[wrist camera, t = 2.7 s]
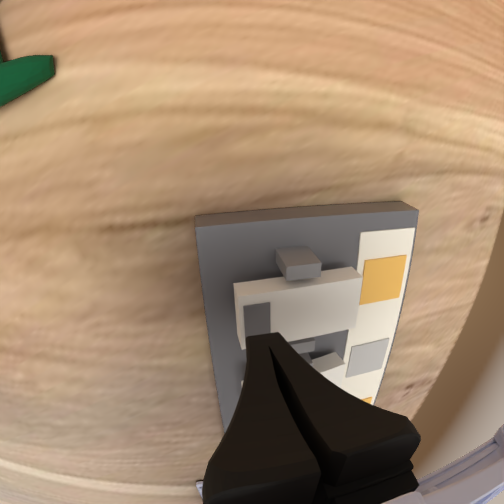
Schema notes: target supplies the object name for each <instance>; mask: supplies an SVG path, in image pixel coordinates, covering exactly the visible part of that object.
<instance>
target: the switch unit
mask: <svg viewBox="0 0 504 504" xmlns="http://www.w3.org/2000/svg"><path fill="white" fill-rule="evenodd" d="M418 214H419V210H418V209H416V208H414V207H412V206H410V205H408V204H406V203H404V202H402V201H395V202H373V203H353V204H336V205H319V206H304V207H290V208H277V209H264V210H252V211H241V212H229V213H218V214H208V215H198V216H195V231H196V241H197V250H198V259H199V267H200V276H201V284H202V292H203V300H204V307H205V315H206V322H207V329H208V336H209V343H210V349H211V356H212V362H213V369H214V375H215V381H216V387H217V393H218V399H219V405H220V411H221V416H222V422H223V427H224V433H225V432H226V430H227V428H228V426H229V424H230V422H231V419H232V417H233V414H234V412H235V409H236V406H237V403H238V400H239V397H240V393H241V390H242V384H241V381H242V380H244V376H245V370H246V362H247V359H246V349H243V350H242V349H241V346H240V342H239V339H238V335H237V324H236V311H235V297H234V284H233V283H239V282H247V281H255V280H262V279H269V278H276V277H284V278H285V280H286V281H292V280H300V279H308V278H316V277H321V271H325V270H332V269H338V268H345V267H351V266H352V267H353V268H354V269H355V270H356V271H357V272H358V273H359V274H360V275H361V276H362V277H363V281H362V288H361V295H360V302H359V309H358V315H357V321H356V327H355V328H352V329H347V330H343V331H338V332H334V333H329V334H325V335H320V336H315V337H310V338H305V339H300V340H295V341H289V342H288V343H289V344H290V345H291V346H292V347H293V348H294V349H295V351H296V352H297V353H298V354H299V355H300V356H301V357H302V358H304V359H305V360H306V361H307V362H308V363H309V364H310V365H311V366H312V367H313V362H312V360H313V359H316V358H319V357H322V356H325V355H328V354H331V353H333V352H336V353H337V354H338V356H339V357H340V358H341V359H342V360H343V361H344V362H345V363H346V364H345V369H344V374H343V379H342V384H341V389H343V390H344V391H346V392H348V393H349V394H351V395H353V396H355V397H357V398H359V399H361V400H363V401H365V402H367V403H369V404H371V405H374V404H375V401H376V398H377V395H378V392H379V389H380V386H381V383H382V380H383V376H384V373H385V370H386V367H387V363H388V360H389V356H390V353H391V349H392V346H393V342H394V338H395V334H396V330H397V326H398V322H399V318H400V314H401V310H402V305H403V301H404V296H405V292H406V287H407V282H408V277H409V272H410V266H411V261H412V255H413V249H414V242H415V236H416V229H417V222H418Z"/></svg>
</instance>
